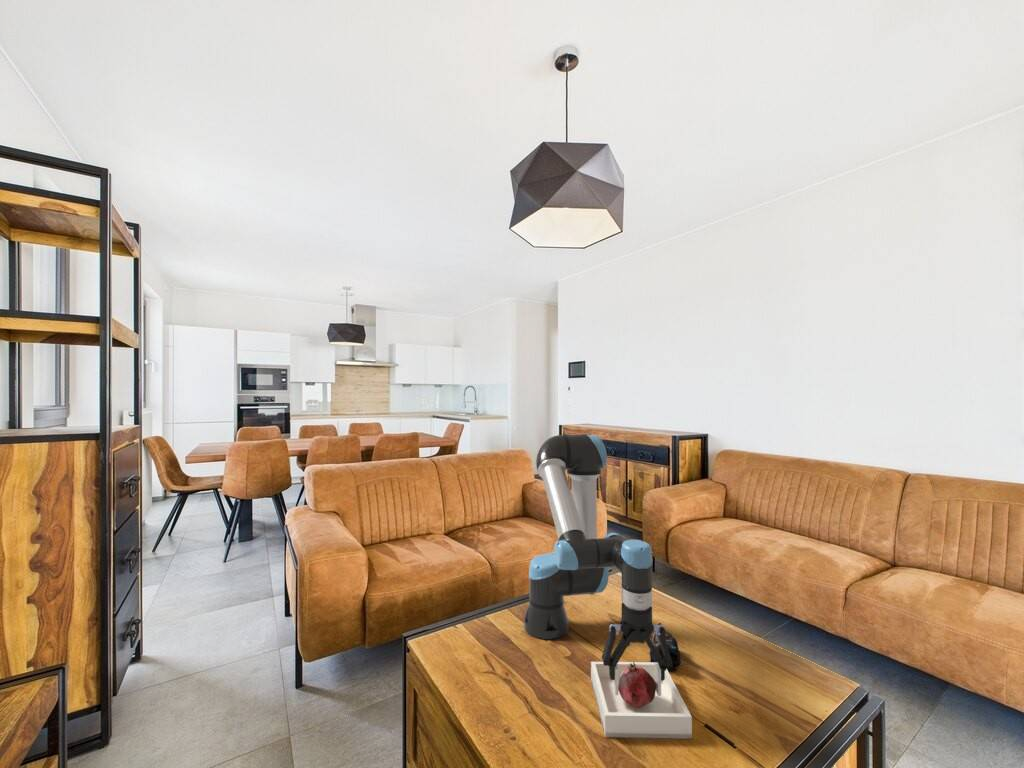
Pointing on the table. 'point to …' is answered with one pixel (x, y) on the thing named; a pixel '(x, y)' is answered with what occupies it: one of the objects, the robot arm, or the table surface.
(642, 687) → the fruit
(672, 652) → the figurine
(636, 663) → the dish
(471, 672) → the table surface
